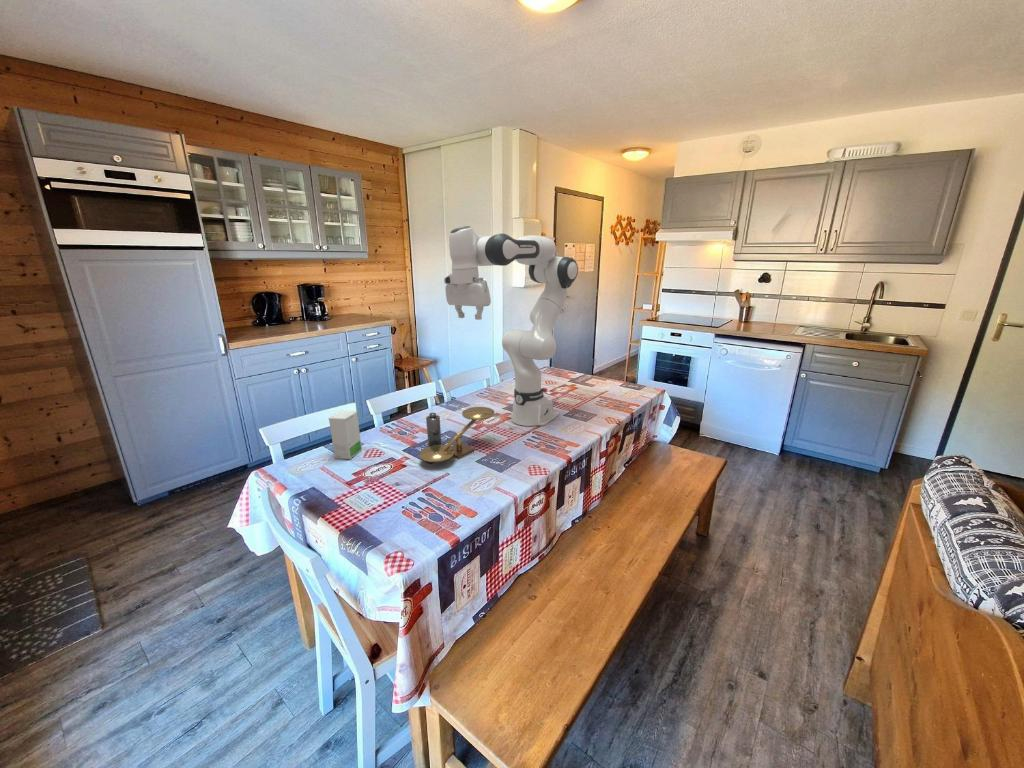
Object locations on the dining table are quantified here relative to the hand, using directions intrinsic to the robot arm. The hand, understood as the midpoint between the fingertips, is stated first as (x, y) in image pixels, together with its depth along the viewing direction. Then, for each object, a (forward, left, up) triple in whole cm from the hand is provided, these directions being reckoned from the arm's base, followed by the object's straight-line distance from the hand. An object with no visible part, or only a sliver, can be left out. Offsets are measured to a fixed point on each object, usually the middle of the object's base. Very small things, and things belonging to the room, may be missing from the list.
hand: (469, 318), depth 142 cm
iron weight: (+11, -11, -48) cm, 50 cm away
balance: (+9, +1, -48) cm, 48 cm away
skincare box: (+37, -28, -48) cm, 66 cm away
